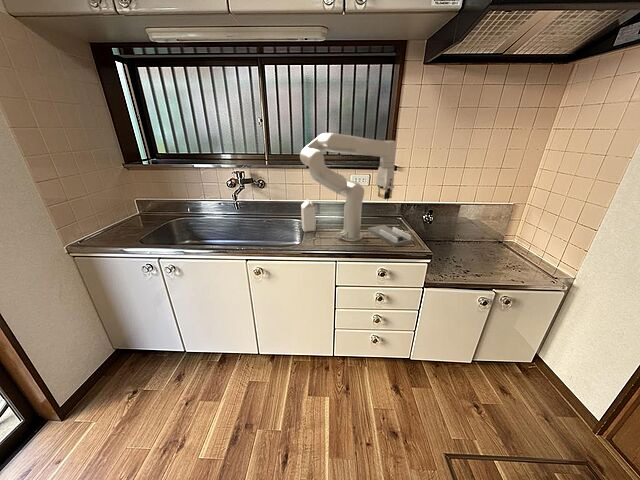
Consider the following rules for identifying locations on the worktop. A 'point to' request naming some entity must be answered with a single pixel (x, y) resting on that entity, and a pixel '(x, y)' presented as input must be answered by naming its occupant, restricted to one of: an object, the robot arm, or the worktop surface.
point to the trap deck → (391, 235)
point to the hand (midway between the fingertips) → (383, 197)
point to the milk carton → (308, 216)
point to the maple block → (382, 193)
